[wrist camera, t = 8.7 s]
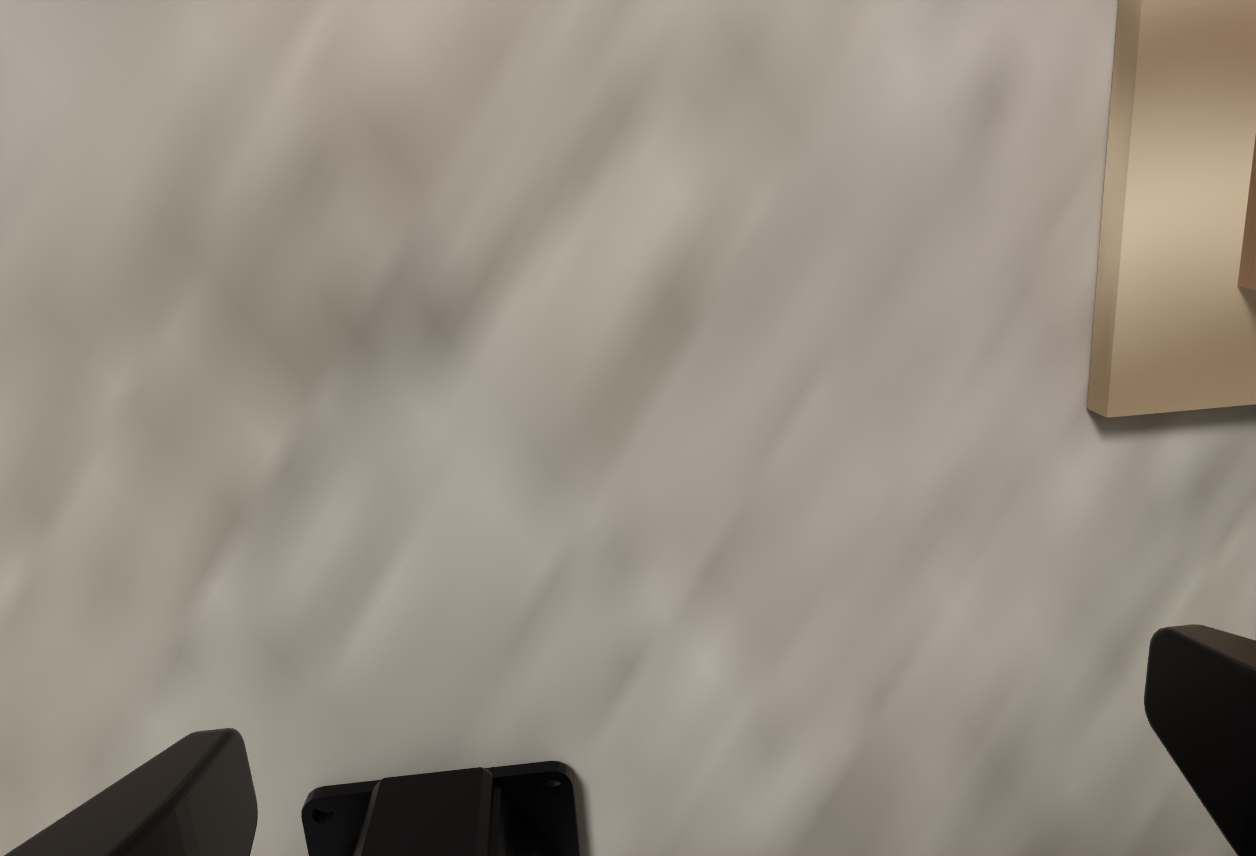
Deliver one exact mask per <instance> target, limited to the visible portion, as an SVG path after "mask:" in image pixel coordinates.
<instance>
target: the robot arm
mask: <svg viewBox="0 0 1256 856" xmlns="http://www.w3.org/2000/svg"><path fill="white" fill-rule="evenodd" d="M1144 706H1145V712H1146V715H1147V718H1148V721H1149V723H1150V725H1151V727H1152V729H1153V730H1154V732H1155V733H1156V735H1157V736H1158V738H1159V739H1160V741H1161V742H1162V744H1163V745H1164V747H1165V748H1166V750H1167V751H1168V753H1169V754H1170V756H1171V757H1172V759H1173V760H1174V762H1175V763H1176V765H1177V766H1178V768H1179V769H1180V771H1181V772H1182V774H1183V775H1184V777H1185V778H1186V780H1187V781H1188V783H1189V784H1190V786H1191V787H1192V789H1193V790H1194V792H1195V793H1196V795H1197V796H1198V798H1199V799H1200V801H1201V802H1202V804H1203V805H1204V807H1205V808H1206V810H1207V811H1208V813H1209V814H1210V816H1211V817H1212V819H1213V820H1214V822H1215V823H1216V825H1217V826H1218V828H1219V829H1220V831H1221V832H1222V834H1223V835H1224V837H1225V838H1226V839H1227V841H1228V842H1229V844H1230V845H1231V847H1232V848H1233V849H1234V851H1235V852H1236V854H1237V855H1238V856H1256V641H1255V640H1252V639H1248V638H1245V637H1241V636H1238V635H1234V634H1231V633H1228V632H1224V631H1221V630H1217V629H1214V628H1210V627H1207V626H1203V625H1183V626H1174V627H1166V628H1161V629H1159V630H1158V631H1156V632H1155V633H1154V634H1153V636H1152V638H1151V641H1150V646H1149V656H1148V665H1147V675H1146V684H1145V694H1144ZM549 780H557V781H559V782H560V784H559V785H558V786H555V787H548V786H546V785H545V784H544V783H545V782H546V781H549ZM319 806H327V807H329V808H330V809H332V812H329V813H325V812H321V811H320V810H318V808H317V807H319ZM257 813H258V810H257V800H256V795H255V790H254V786H253V781H252V776H251V772H250V767H249V762H248V757H247V753H246V748H245V744H244V740H243V738H242V736H241V734H240V733H239V732H238V731H237V730H235V729H233V728H225V729H216V730H207V731H197V732H194V733H191V734H189V735H187V736H186V737H184V738H183V739H181V740H179V741H178V742H176V743H175V744H173V745H172V746H170V747H169V748H167V749H166V750H164V751H163V752H161V753H160V754H158V755H157V756H155V757H154V758H152V759H151V760H149V761H147V762H146V763H144V764H143V765H141V766H140V767H138V768H137V769H135V770H134V771H132V772H131V773H129V774H128V775H126V776H125V777H123V778H122V779H120V780H119V781H117V782H116V783H114V784H112V785H111V786H109V787H108V788H106V789H105V790H103V791H102V792H100V793H99V794H97V795H96V796H94V797H93V798H91V799H90V800H88V801H87V802H85V803H84V804H82V805H80V806H79V807H77V808H76V809H74V810H73V811H71V812H70V813H68V814H67V815H65V816H64V817H62V818H61V819H59V820H58V821H56V822H55V823H53V824H52V825H50V826H49V827H47V828H45V829H44V830H42V831H41V832H39V833H38V834H36V835H35V836H33V837H32V838H30V839H29V840H27V841H26V842H24V843H23V844H21V845H20V846H18V847H17V848H15V849H13V850H12V851H10V852H9V853H7V854H6V855H4V856H250V853H251V848H252V844H253V840H254V836H255V831H256V826H257ZM302 823H303V828H304V833H305V838H306V843H307V848H308V853H309V856H580V848H579V838H578V827H577V817H576V807H575V796H574V786H573V776H572V773H571V770H570V769H569V768H568V767H567V766H566V764H563V763H561V762H559V761H545V762H537V763H528V764H519V765H510V766H501V767H492V768H481V767H479V768H470V769H461V770H452V771H443V772H434V773H425V774H416V775H407V776H398V777H389V778H383V779H382V780H376V781H367V782H358V783H349V784H340V785H331V786H323V787H319V788H316V789H314V790H313V791H312V792H310V793H309V795H308V797H307V798H306V800H305V803H304V806H303V809H302Z"/></svg>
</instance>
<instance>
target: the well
mask: <svg viewBox="0 0 1256 856" xmlns="http://www.w3.org/2000/svg"><path fill="white" fill-rule="evenodd" d="M1253 404H1256V0H1118V13H1117V26H1116V39H1115V52H1114V65H1113V77H1112V90H1111V103H1110V116H1109V129H1108V142H1107V155H1106V168H1105V181H1104V194H1103V207H1102V220H1101V233H1100V246H1099V258H1098V271H1097V284H1096V297H1095V310H1094V323H1093V336H1092V349H1091V362H1090V375H1089V388H1088V401H1087V409H1089V410H1091V411H1093V412H1095V413H1098V414H1100V415H1102V416H1104V417H1106V418H1109V417H1121V416H1132V415H1143V414H1154V413H1165V412H1176V411H1187V410H1198V409H1209V408H1220V407H1231V406H1242V405H1253Z"/></svg>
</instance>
